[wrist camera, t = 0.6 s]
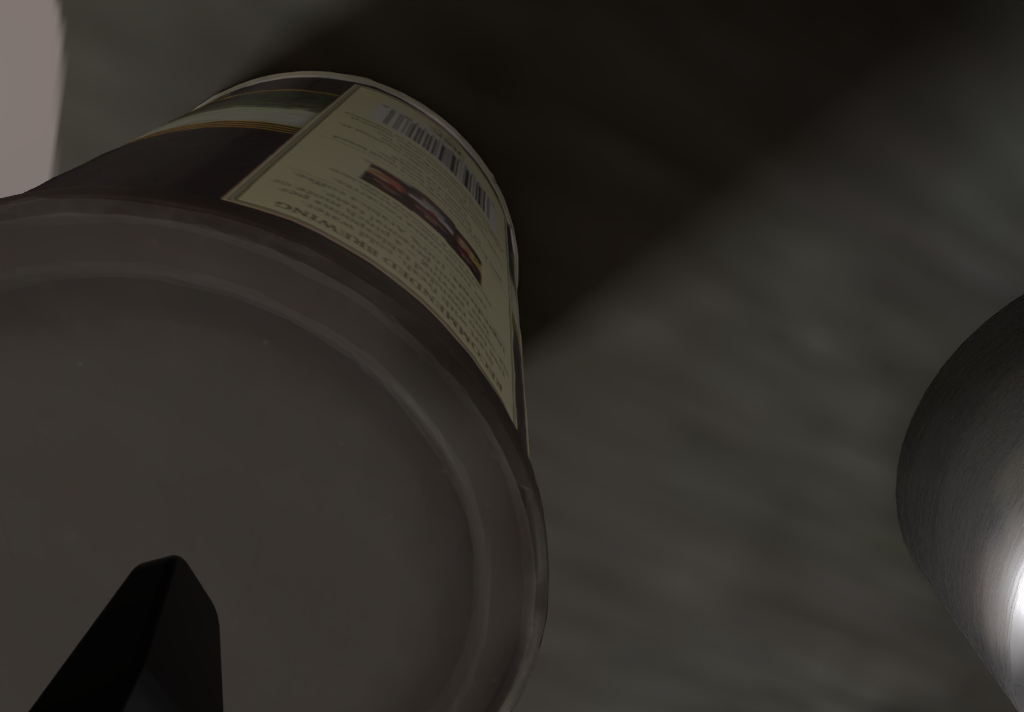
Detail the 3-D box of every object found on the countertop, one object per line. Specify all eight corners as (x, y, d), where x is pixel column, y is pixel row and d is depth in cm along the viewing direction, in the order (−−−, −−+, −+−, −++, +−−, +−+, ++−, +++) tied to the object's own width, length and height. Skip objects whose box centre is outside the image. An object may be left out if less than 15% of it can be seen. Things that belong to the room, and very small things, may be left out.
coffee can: (101, 389, 27) (-280, 796, 13) (167, 12, 23) (-268, 70, 10) (459, 485, 28) (427, 941, 15) (574, 143, 24) (667, 346, 11)
